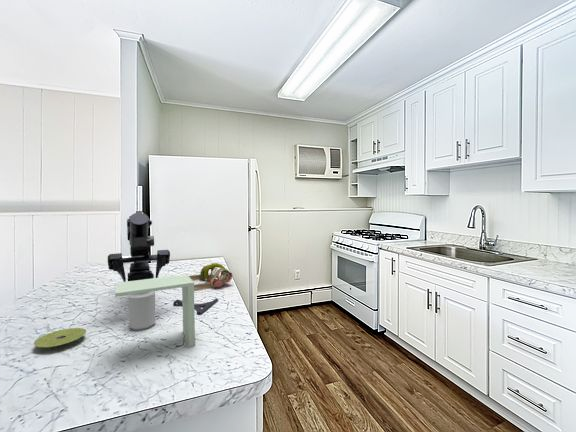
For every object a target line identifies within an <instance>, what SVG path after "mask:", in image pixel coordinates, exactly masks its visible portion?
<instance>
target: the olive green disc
mask: <svg viewBox="0 0 576 432" xmlns="http://www.w3.org/2000/svg"><path fill="white" fill-rule="evenodd" d="M86 333H87V330H86V329H85V328H83V327H82V328H81V327H71V328H63V329H59V330H55V331H52V332H49V333H46V334H44V335H41V336H40V337H39V338H37V339H36V340H35V341H34V342H33V345H34V346H35V347H37V348H52V347H58V346H62V345H66V344H69V343H70V342H74V341H77V340H79V339H80V338H82V337H84V335H86Z"/></svg>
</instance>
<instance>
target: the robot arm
mask: <svg viewBox="0 0 576 432" xmlns="http://www.w3.org/2000/svg"><path fill="white" fill-rule="evenodd" d="M152 225H153V221H152V220H151V219H150V218H149V216H148V215H147V214H146V213H143V211H142V210H135V213H133V214H131V215H129V217H128V218H126V226H127V227H126V228H127V229H126V230H127V231H126V233H127V241H128V243H129V245H130V246H129V251H130V255H129V256H123V252H118V253H109V254H108V255H107V266H108V270H110V271H112V270H113V272H117V273H118V275H120V278H121V279H122V282H127V281H136V280H144V279H152V278H159V274H160V272H161V270H162V268H163V267H166V265H168V264H170V259H171V258H170V257H171V252H170V250H169V249H158V250H157V252H156V254H150V251H151V250H150V247H154V246H155V238H154V237H155V236H154V235H149V228H151V226H152ZM154 261H155V262H156V268H155V274H154V273H153V272H152V270H151V269H150V264H149V262H154ZM126 263H127V264H128V263H130V266H129V272H127V277H126V271H125V267H124V266H125V265H124V264H126ZM126 278H127V280H126Z"/></svg>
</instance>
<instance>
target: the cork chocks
mask: <svg viewBox="0 0 576 432" xmlns="http://www.w3.org/2000/svg"><path fill="white" fill-rule="evenodd" d="M188 276H189V277H190V278H191V280H192V281H193V282H194V281H200V280H207V279H206V278H204V279H201V278H200V277H199V276H200V273H199V274H193V275H192V274H191V275H188ZM215 288H217V287H213V286H212V285H211V283H210V282H202V283H194V292H195V291H200V290H208V289H215Z"/></svg>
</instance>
